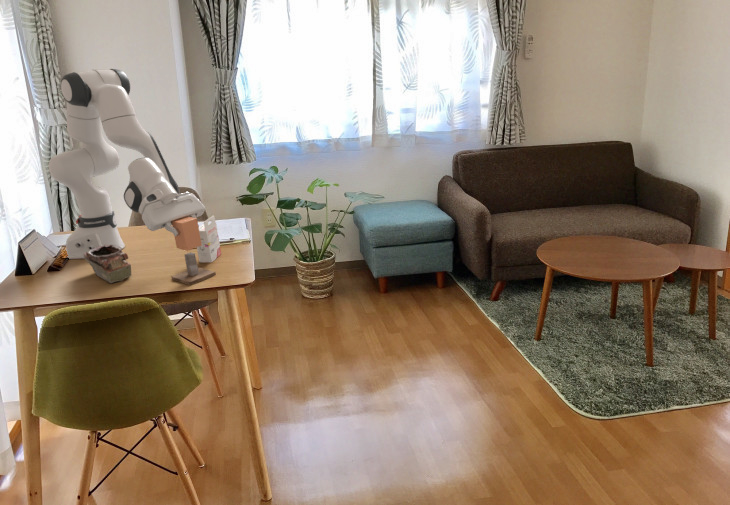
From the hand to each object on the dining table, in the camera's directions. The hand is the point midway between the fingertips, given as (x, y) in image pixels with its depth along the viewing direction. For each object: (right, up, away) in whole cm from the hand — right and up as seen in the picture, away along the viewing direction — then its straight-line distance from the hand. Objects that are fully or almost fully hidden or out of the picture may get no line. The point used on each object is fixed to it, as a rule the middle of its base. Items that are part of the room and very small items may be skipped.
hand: (187, 231), depth 198 cm
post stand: (0, -15, +6) cm, 16 cm away
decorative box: (-31, -15, +13) cm, 37 cm away
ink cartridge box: (+2, -9, +22) cm, 24 cm away
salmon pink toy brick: (0, -5, +2) cm, 5 cm away
